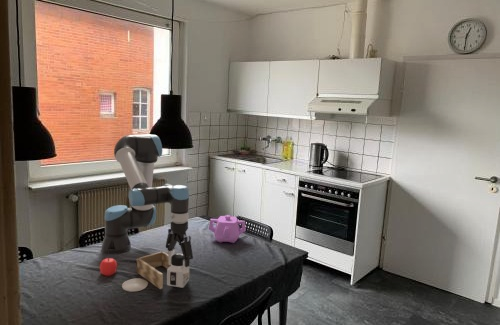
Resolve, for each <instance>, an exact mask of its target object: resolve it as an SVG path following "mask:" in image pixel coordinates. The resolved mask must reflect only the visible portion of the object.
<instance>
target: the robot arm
mask: <svg viewBox="0 0 500 325" xmlns="http://www.w3.org/2000/svg"><path fill="white" fill-rule="evenodd" d="M113 154H114V159H115V160H116V162H118V163H119V164H120V167H121V169H122V172H123V174H124V176H125V178H126V181H127V183H128V186H129V191H128V200H129V204H130V207H128V206H127V205H124V204H122V205H121V204H118V205H112V206H110V207H109V208H107V209H105V211H104V238H103V241H102V244H101V251H102V253H105V254H110V255H111V254H112V255H115V254H116V255H117V254H118V255H119V254H123V253H126V252H129V251H130V250H131V247H132V244H131V241H130V237H129V234H128V233H129V232H128V230H132V229H138V228H146V227H150V226H152V225H153V224H154V223H155V222H156V220H157V218H156V217H157V208H156V206H155V205H158V204H159V205H160V204H170V228H169V229H168V230H167V231H168V232H167V238H166V242H165V243H166V244H165V249H167V251H168V254H169V265H171V257H172V256H173V255H174V254H176V253H175V252H176V251H175V247H176V245H177V243H178V245H179V246H180V248H181V252H182V253H181V254H183V256H184V259H183V274H185V273H188V272H189V273H190V268H189V265H190V262H191V261H190V260H192V259H194V254H193V250H192V244H191V243H192V242H191V241H192V240H191V236H190V235H188V236H187V231H188V229H189V204H190V203H189V200H190V192H189V190H190V189H189V187H188V186H187V185H183V184H176V185H173V184H171V183H165V184H163V185H162V186H153V178H154V169H155V163H157V162H158V157H159V158H161V157H162V155H163V144H162V141H161V139H160V137H159V136H158V135H156V134H150V133H149V134H127V135H124V136H122V137H121V138H119V140H118V141H116V144H115V146H114V149H113Z"/></svg>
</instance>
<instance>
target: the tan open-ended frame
mask: <svg viewBox="0 0 500 325" xmlns="http://www.w3.org/2000/svg"><path fill="white" fill-rule="evenodd" d="M161 266H162V267H163V268H165V269H166V270H167V269H168V268H169V267H170V266H171V265H169V253H167V252H165V251H164V250H161V251H158V252H154V253H151V254H148V255H143V256H140V257H137V258H136V273H137V274H139V275H140V276H141V277H143V279H144V280H146V281H147V282H148V283H151V284H152V285H154V287H156V288H158V289H159V290H162V289H163V283H164V280H163V279H164V277H163V276H164V273H162V272H161V271H159V270H158V269H156V268H158V267H161Z"/></svg>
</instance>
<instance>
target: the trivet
mask: <svg viewBox="0 0 500 325" xmlns="http://www.w3.org/2000/svg"><path fill="white" fill-rule="evenodd" d="M148 284H149V281H148V280H147V279H145V278H139V277H138V278H131V279H128V280H125V281H124V282H123V283H122V284H121V288H122V290H123V291H125V292H131V293H134V292H139V291H140V292H141V291H142V290H145V289H146V288H147V287H148V286H149V285H148Z"/></svg>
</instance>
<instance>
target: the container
mask: <svg viewBox="0 0 500 325" xmlns="http://www.w3.org/2000/svg"><path fill="white" fill-rule="evenodd" d="M183 259H184V256H183V253H175V254H174V255H173V256H172V257H171V266H170V267H169V268H168V269H167V268H166V285H167V286H171V287H175V288H176V287H177V288H185V286H186V285H187V284H188V282H189V281H190V271H189V272H188V273H185V274H183ZM189 269H191V268H190V264H189Z"/></svg>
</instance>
